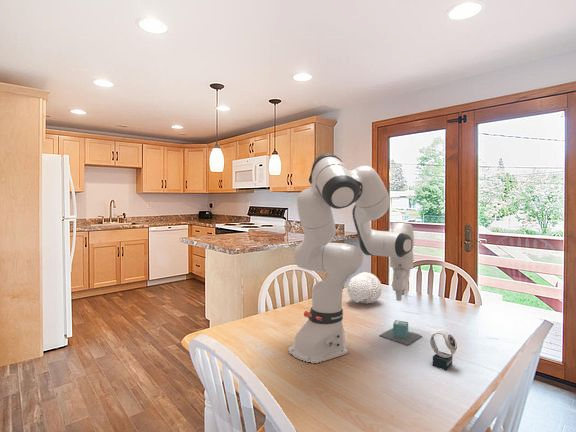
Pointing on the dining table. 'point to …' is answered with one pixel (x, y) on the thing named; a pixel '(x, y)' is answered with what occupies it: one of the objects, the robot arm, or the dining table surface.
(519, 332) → the dining table surface
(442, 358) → the watch
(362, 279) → the cauliflower
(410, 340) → the pad
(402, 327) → the letter cube
